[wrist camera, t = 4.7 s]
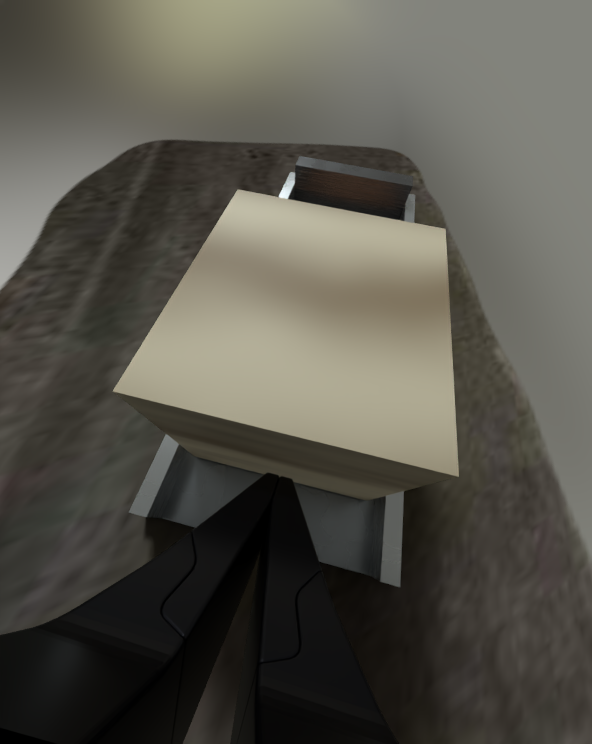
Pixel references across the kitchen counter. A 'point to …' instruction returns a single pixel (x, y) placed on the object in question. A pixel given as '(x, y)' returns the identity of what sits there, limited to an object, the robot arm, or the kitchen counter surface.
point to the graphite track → (320, 507)
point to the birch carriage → (308, 350)
